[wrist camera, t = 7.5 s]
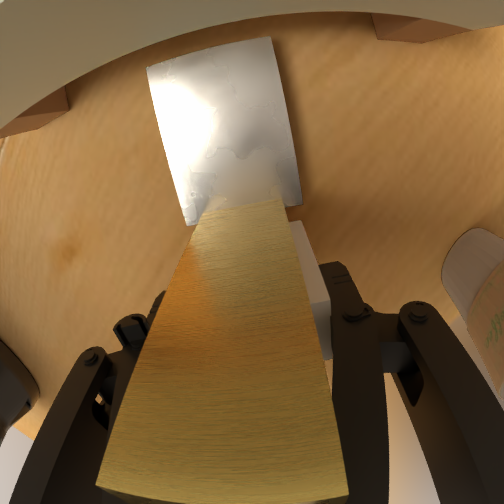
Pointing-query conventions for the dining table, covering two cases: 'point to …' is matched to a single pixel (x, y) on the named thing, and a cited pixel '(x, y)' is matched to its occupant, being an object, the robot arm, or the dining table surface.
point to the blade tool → (229, 308)
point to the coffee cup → (480, 295)
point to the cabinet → (167, 26)
